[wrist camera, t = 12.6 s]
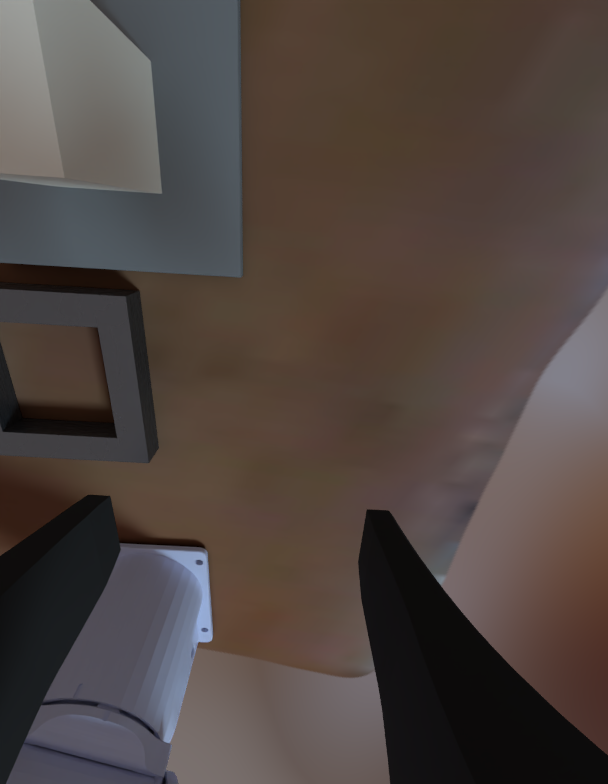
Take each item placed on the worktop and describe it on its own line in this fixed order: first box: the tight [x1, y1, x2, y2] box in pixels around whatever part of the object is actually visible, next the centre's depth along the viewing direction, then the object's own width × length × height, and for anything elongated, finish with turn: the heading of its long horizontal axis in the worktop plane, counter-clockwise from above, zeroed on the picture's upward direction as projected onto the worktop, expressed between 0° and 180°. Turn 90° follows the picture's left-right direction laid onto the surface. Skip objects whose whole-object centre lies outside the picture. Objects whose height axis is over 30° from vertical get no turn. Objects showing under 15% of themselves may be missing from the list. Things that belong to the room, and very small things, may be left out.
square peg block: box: [0, 0, 162, 194], centre depth 12 cm, size 4×4×7 cm
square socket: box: [0, 282, 159, 463], centre depth 19 cm, size 9×9×2 cm
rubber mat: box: [0, 0, 243, 277], centre depth 15 cm, size 11×11×1 cm
